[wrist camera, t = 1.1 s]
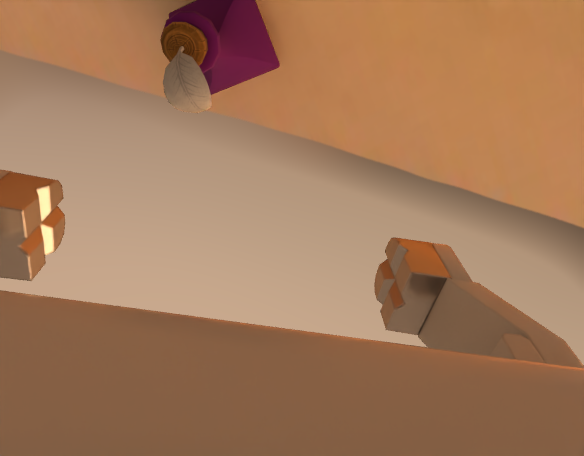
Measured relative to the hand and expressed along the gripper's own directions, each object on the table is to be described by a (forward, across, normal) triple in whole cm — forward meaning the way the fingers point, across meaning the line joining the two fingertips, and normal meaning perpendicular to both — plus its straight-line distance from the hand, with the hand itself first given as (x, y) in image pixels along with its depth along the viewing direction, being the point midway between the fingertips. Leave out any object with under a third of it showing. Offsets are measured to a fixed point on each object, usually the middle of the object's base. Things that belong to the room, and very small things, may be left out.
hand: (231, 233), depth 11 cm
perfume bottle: (+35, +3, 0) cm, 35 cm away
